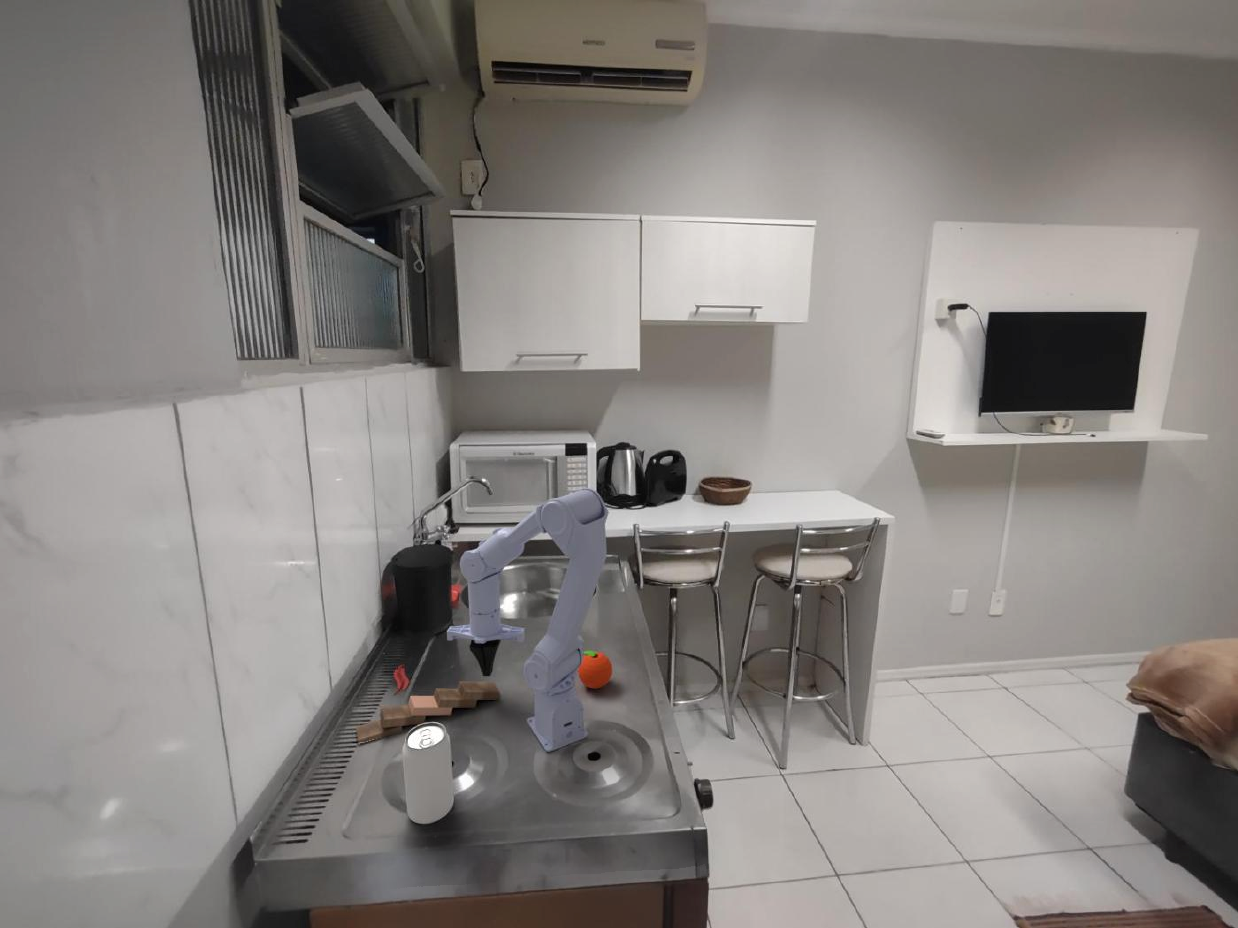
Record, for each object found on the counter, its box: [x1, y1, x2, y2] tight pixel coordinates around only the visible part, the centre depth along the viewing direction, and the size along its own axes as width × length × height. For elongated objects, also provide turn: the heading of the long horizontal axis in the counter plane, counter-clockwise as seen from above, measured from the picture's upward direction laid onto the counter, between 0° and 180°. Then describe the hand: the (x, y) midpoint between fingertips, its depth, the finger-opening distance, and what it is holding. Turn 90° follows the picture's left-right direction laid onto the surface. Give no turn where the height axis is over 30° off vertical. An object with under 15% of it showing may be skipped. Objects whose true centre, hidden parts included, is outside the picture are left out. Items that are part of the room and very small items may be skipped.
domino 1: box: [355, 718, 403, 743], centre depth 94 cm, size 4×2×7 cm
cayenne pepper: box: [393, 664, 410, 696], centre depth 110 cm, size 12×5×2 cm, turn 3°
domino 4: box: [433, 687, 478, 709], centre depth 101 cm, size 4×2×7 cm
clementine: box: [577, 650, 613, 689], centre depth 108 cm, size 8×7×7 cm
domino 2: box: [379, 704, 427, 728], centre depth 96 cm, size 4×2×7 cm
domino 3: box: [407, 695, 453, 716], centre depth 99 cm, size 4×2×7 cm
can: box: [402, 721, 455, 825], centre depth 77 cm, size 6×6×12 cm
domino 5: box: [457, 680, 501, 701], centre depth 103 cm, size 4×2×7 cm
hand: (487, 673), depth 104 cm, fingers closed
